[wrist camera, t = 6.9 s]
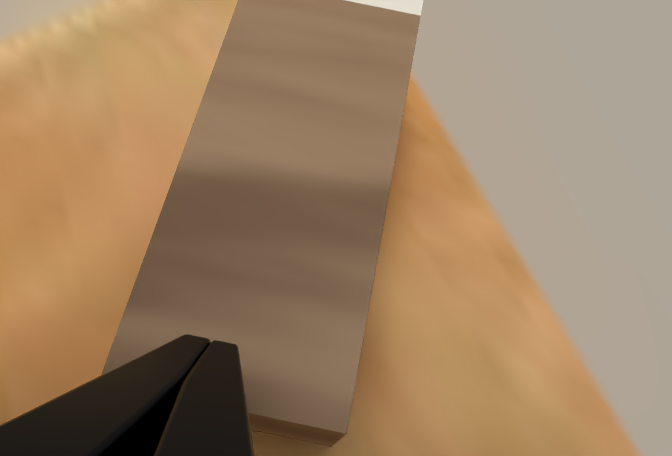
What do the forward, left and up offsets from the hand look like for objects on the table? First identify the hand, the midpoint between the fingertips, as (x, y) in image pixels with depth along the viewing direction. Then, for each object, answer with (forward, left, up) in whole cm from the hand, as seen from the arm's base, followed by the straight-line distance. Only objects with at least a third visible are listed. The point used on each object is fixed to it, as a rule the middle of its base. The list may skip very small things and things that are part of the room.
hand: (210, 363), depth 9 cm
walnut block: (0, 0, -5) cm, 5 cm away
